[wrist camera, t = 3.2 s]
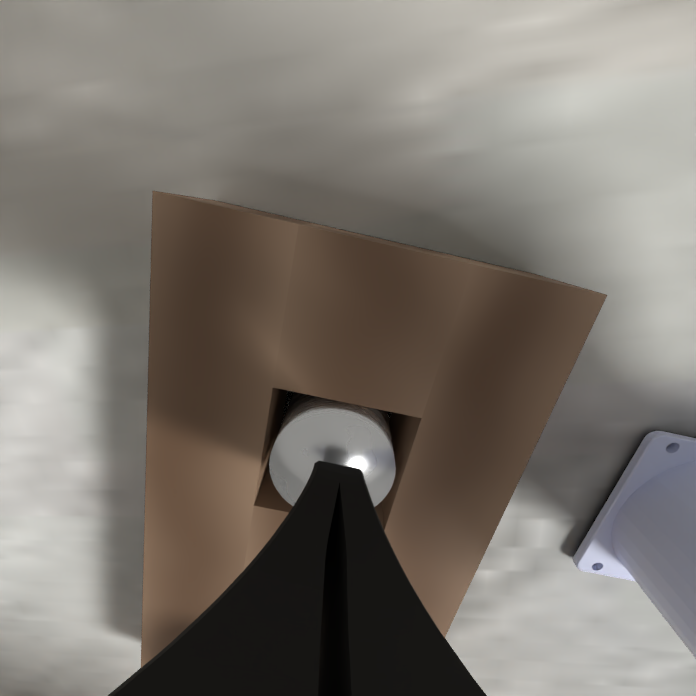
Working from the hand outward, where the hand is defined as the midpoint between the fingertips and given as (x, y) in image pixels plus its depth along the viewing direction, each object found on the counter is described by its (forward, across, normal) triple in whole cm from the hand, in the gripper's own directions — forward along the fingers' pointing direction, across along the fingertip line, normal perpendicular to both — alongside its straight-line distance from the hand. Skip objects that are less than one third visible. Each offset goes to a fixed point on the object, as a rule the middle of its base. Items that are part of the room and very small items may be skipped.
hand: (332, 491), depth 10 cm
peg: (+5, 0, 0) cm, 5 cm away
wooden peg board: (+5, 0, +6) cm, 8 cm away
